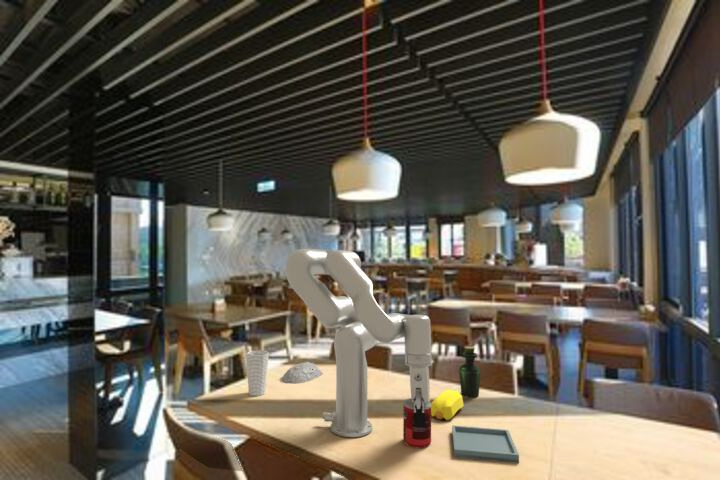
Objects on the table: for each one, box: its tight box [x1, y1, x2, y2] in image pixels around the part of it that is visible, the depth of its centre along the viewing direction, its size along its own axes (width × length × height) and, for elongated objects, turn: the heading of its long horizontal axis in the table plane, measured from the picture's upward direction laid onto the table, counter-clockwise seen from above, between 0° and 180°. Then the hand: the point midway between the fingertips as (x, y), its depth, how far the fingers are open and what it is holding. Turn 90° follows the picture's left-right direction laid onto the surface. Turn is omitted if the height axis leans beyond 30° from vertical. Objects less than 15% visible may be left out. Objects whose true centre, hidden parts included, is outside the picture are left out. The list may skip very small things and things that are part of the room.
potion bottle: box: [458, 345, 482, 398], centre depth 159 cm, size 8×8×18 cm
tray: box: [451, 425, 520, 464], centre depth 114 cm, size 16×16×2 cm
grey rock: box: [280, 361, 324, 385], centre depth 182 cm, size 16×25×7 cm, turn 158°
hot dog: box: [430, 389, 464, 421], centre depth 139 cm, size 18×7×8 cm
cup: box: [245, 349, 270, 397], centre depth 158 cm, size 8×8×16 cm
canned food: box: [402, 398, 432, 449], centre depth 117 cm, size 8×8×11 cm
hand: (420, 420), depth 116 cm, fingers open, 9 cm apart
